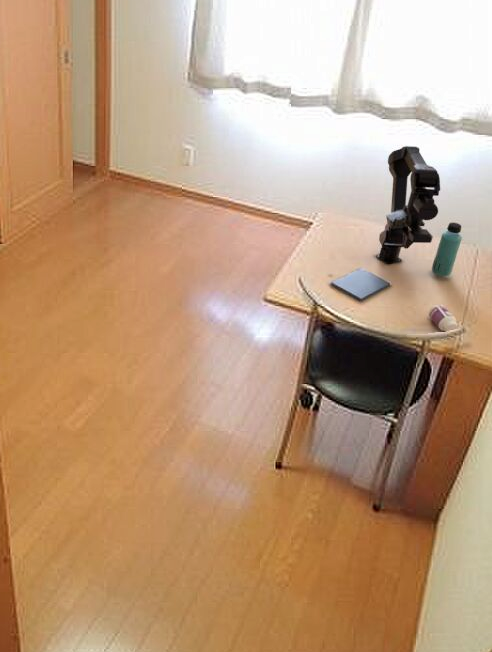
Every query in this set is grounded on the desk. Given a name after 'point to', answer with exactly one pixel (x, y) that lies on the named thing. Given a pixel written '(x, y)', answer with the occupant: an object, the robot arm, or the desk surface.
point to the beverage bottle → (447, 250)
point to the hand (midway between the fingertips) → (405, 248)
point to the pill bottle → (443, 318)
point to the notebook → (360, 284)
